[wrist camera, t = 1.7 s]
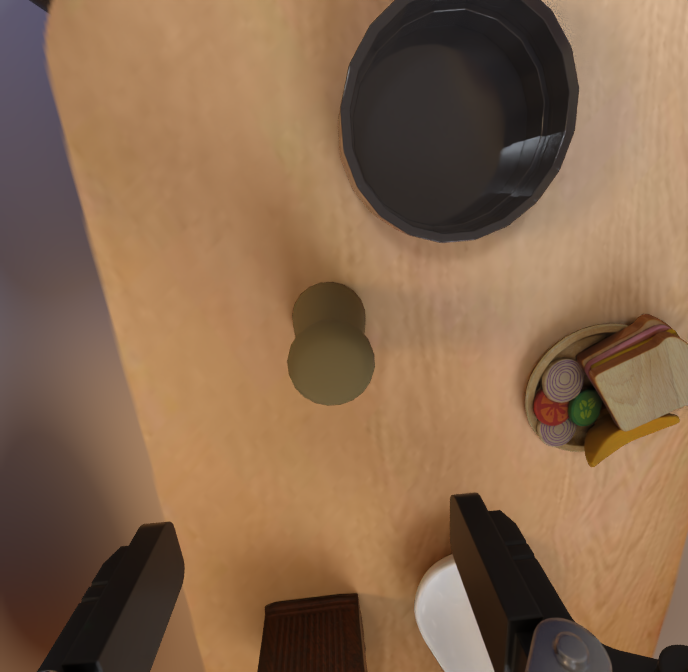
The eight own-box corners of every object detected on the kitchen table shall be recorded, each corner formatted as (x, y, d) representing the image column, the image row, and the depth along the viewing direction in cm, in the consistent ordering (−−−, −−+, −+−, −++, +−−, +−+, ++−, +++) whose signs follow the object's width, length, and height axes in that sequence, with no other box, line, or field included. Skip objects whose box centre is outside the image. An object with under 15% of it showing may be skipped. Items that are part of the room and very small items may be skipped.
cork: (325, 266, 31) (326, 300, 20) (380, 314, 32) (408, 369, 22) (276, 321, 32) (255, 380, 22) (332, 365, 34) (336, 440, 23)
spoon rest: (402, 540, 40) (417, 609, 34) (514, 522, 40) (552, 587, 34) (421, 685, 48) (437, 764, 42) (515, 670, 48) (547, 747, 42)
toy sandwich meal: (499, 362, 34) (525, 387, 30) (647, 287, 33) (699, 301, 28) (544, 464, 38) (574, 500, 34) (679, 402, 37) (729, 430, 32)
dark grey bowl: (346, 243, 30) (350, 251, 26) (329, 21, 26) (330, -19, 21) (527, 227, 31) (564, 232, 26) (543, 5, 26) (592, -39, 21)
